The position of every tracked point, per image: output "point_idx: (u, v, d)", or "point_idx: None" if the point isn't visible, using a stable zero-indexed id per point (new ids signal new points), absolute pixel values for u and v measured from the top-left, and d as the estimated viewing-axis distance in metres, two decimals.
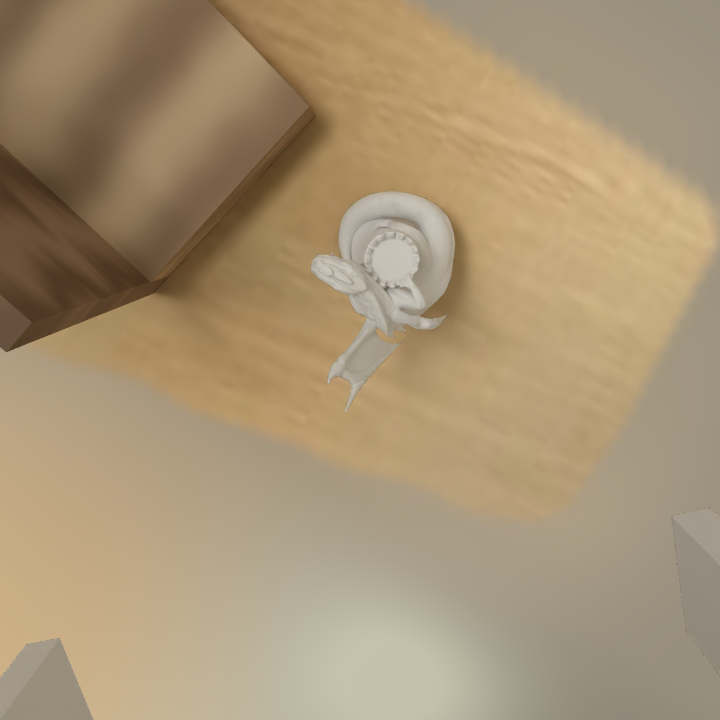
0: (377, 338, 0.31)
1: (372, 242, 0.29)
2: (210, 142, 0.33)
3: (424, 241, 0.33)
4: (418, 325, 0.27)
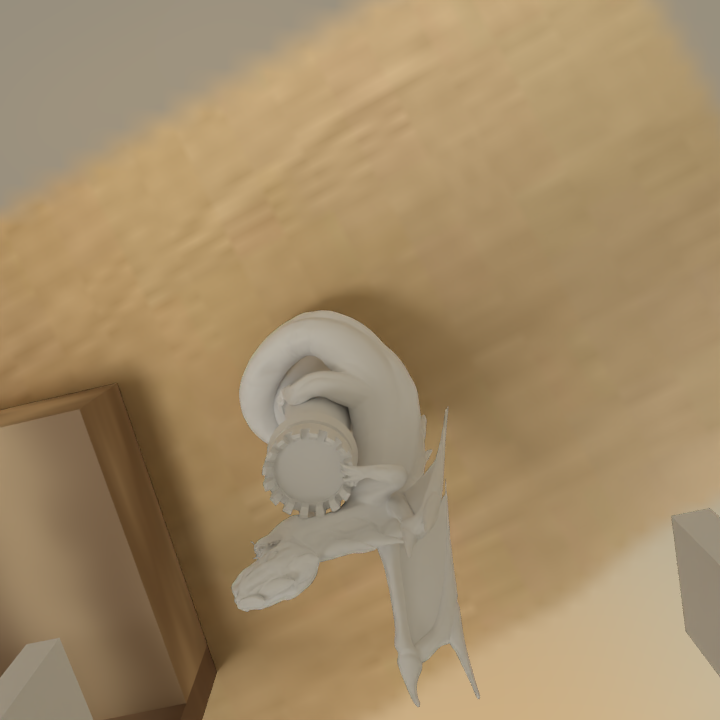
0: None
1: (267, 488, 0.18)
2: (61, 545, 0.23)
3: (328, 376, 0.21)
4: (416, 539, 0.15)
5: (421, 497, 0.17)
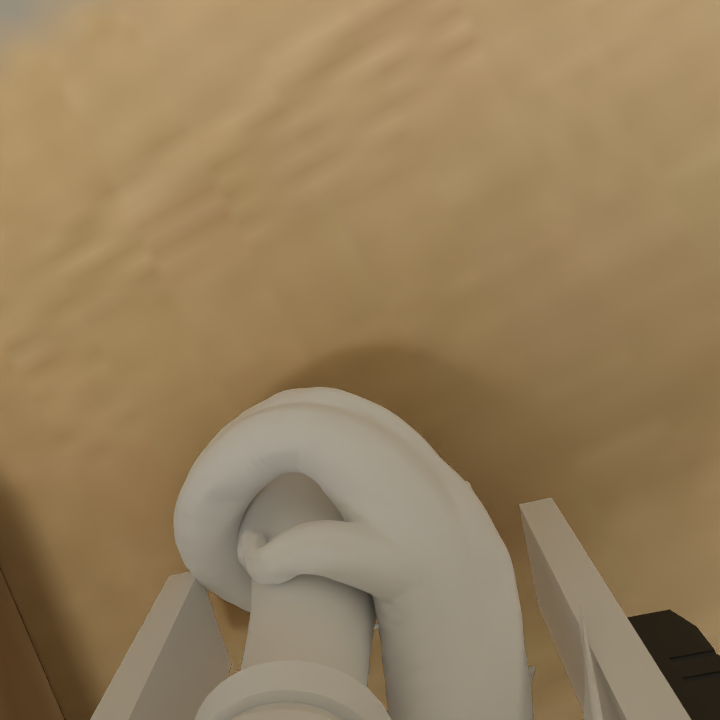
0: None
1: None
2: None
3: (332, 538, 0.10)
4: None
5: None
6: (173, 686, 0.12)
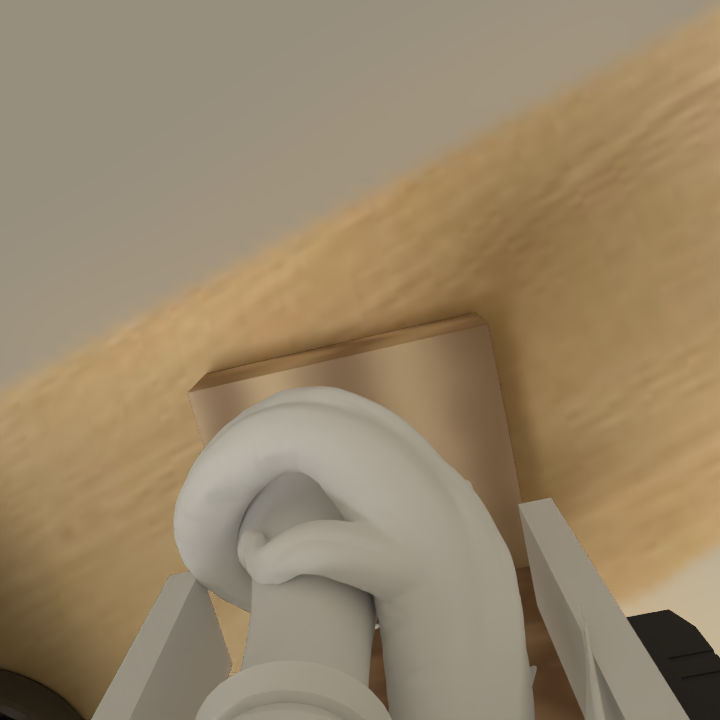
0: None
1: None
2: (456, 434, 0.30)
3: (333, 538, 0.10)
4: None
5: None
6: (174, 685, 0.12)
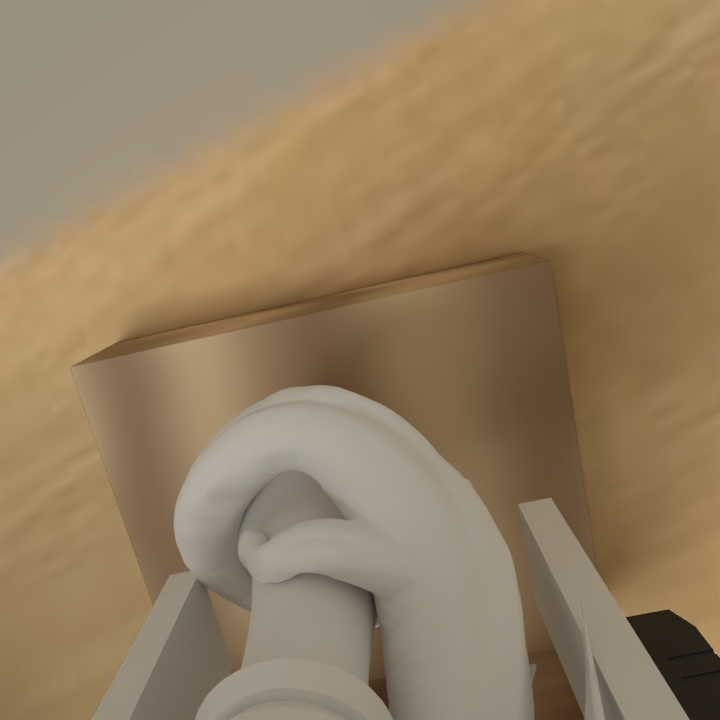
0: None
1: None
2: (494, 437, 0.19)
3: (333, 537, 0.10)
4: None
5: None
6: (174, 685, 0.12)
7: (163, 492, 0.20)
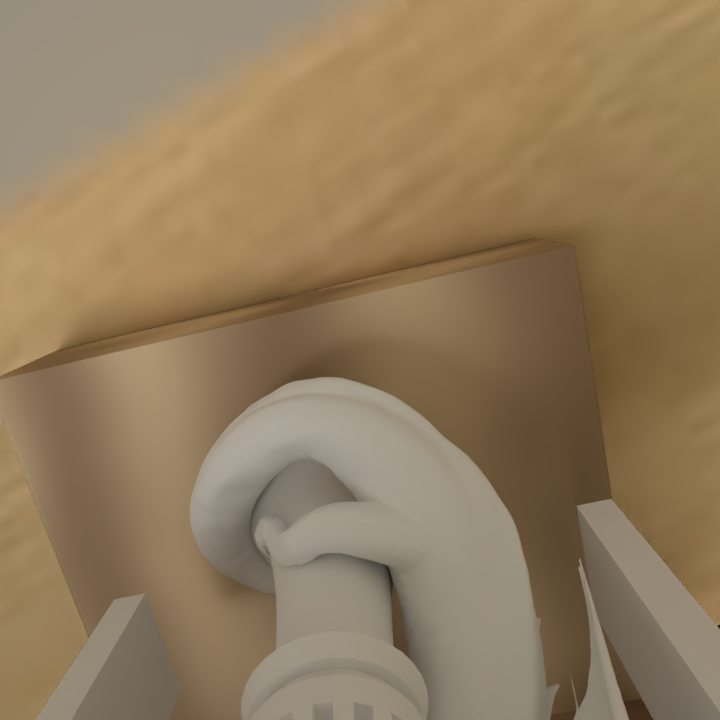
0: None
1: None
2: (505, 461, 0.16)
3: (351, 518, 0.11)
4: None
5: None
6: None
7: (107, 531, 0.16)
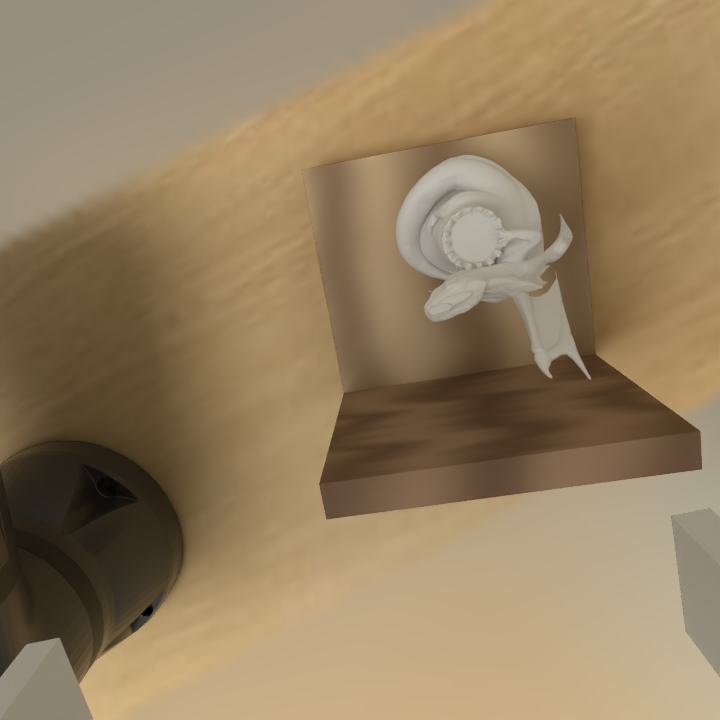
0: (537, 299, 0.28)
1: (445, 246, 0.26)
2: None
3: (475, 193, 0.29)
4: (557, 254, 0.23)
5: None
6: None
7: (344, 248, 0.35)
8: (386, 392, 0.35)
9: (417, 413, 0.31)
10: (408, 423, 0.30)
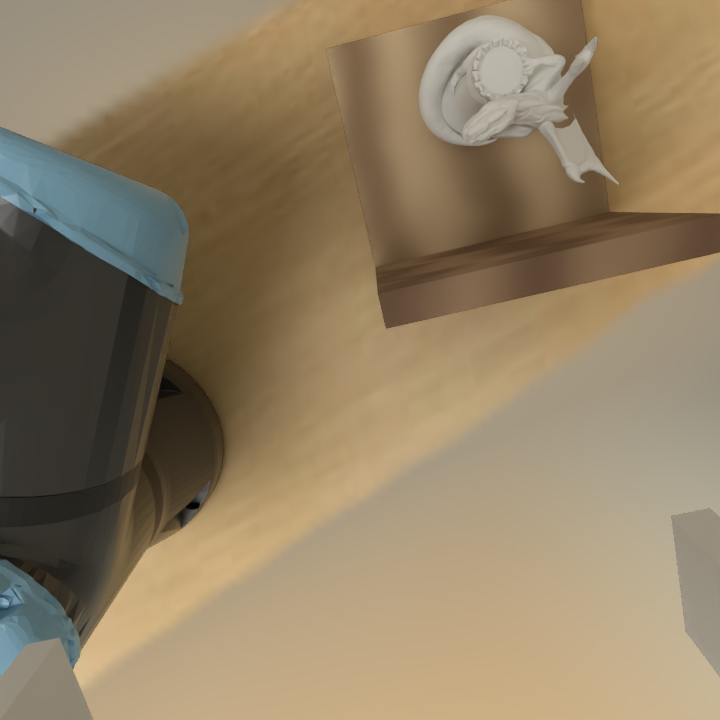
0: (561, 129, 0.30)
1: (476, 78, 0.28)
2: None
3: None
4: (584, 62, 0.26)
5: None
6: None
7: (370, 124, 0.37)
8: (417, 259, 0.37)
9: (453, 259, 0.33)
10: (446, 263, 0.32)
